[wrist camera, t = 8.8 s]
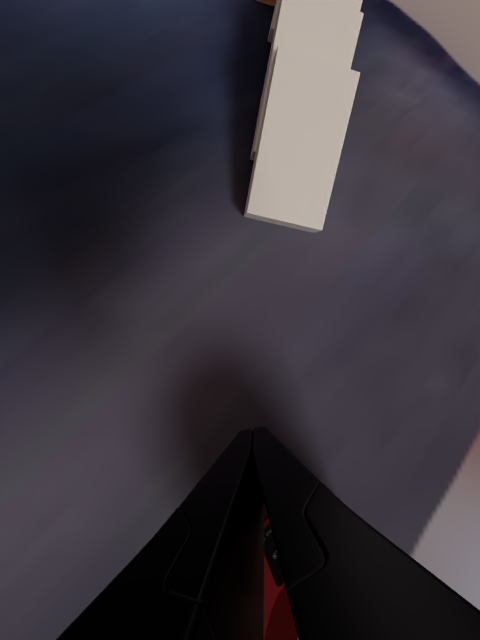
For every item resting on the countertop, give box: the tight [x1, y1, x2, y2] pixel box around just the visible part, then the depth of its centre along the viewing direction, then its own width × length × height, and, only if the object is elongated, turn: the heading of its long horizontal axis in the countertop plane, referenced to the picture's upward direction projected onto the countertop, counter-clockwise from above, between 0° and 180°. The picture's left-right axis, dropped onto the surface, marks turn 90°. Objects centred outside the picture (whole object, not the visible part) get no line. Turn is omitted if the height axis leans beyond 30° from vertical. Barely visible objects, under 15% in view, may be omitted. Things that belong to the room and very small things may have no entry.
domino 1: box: [250, 0, 364, 160], centre depth 19 cm, size 2×6×10 cm
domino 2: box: [244, 45, 360, 233], centre depth 19 cm, size 2×6×10 cm
